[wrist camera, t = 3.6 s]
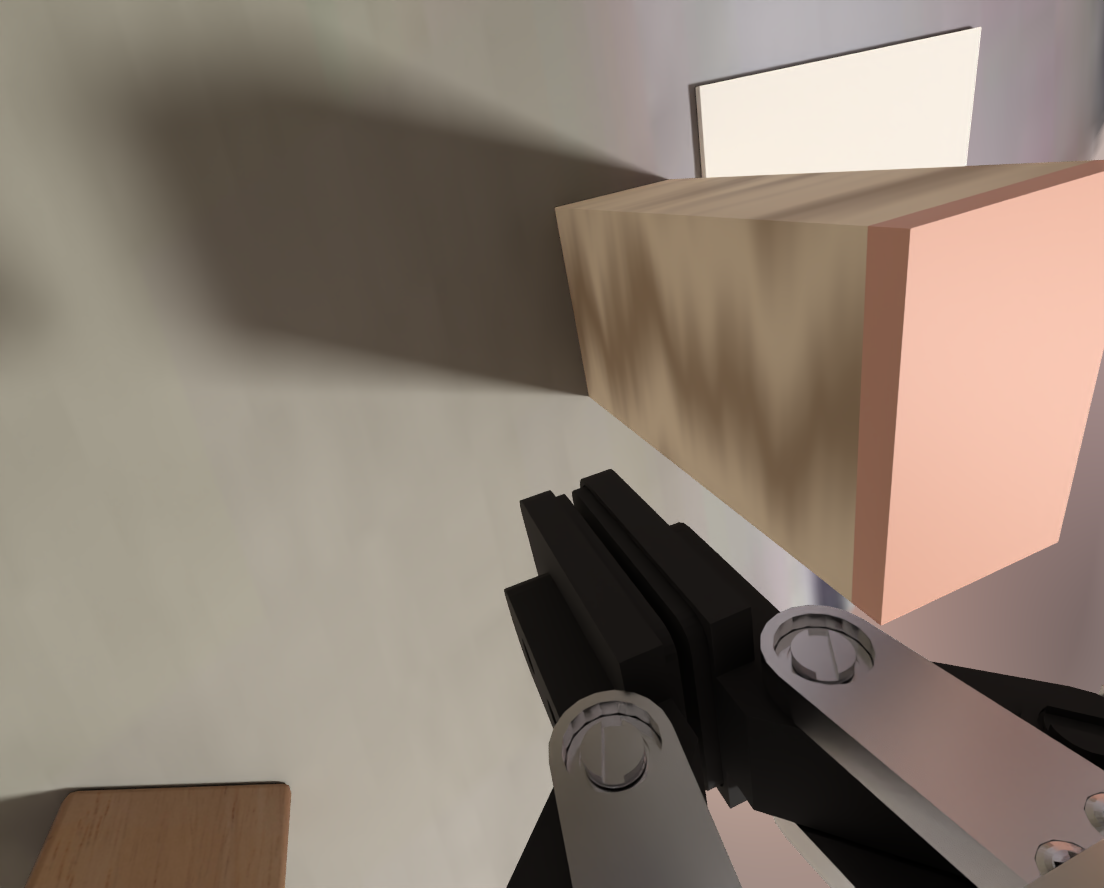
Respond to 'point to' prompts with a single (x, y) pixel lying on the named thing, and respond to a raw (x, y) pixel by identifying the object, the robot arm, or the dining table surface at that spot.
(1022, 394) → the ash block
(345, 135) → the dining table surface
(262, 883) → the wooden block
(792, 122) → the pad
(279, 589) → the dining table surface
